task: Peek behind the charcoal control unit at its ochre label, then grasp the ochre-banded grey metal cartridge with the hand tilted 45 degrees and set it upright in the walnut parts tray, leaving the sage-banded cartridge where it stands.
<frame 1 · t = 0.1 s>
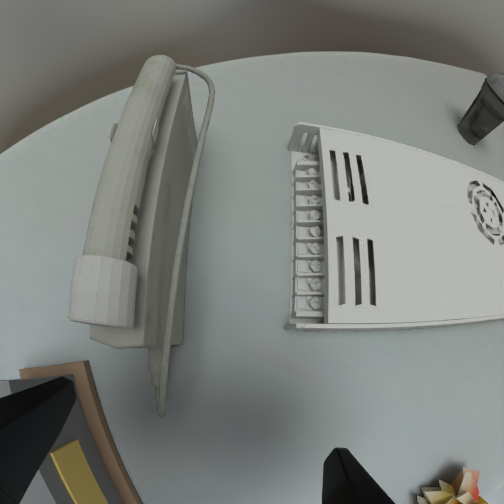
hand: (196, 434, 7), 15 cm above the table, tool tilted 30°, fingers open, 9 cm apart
control unit: (83, 460, 17), on the table
beverage cup: (466, 135, 34), on the table
geiger counter: (176, 261, 24), on the table
power supply unit: (424, 245, 28), on the table
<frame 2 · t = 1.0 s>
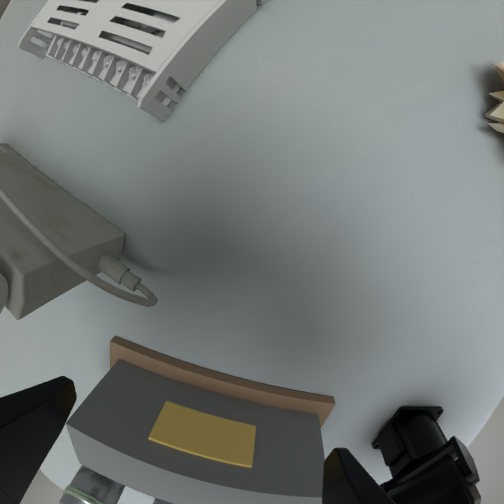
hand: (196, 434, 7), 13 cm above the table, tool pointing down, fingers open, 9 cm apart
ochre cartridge: (175, 495, 28), on the table
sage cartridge: (121, 443, 26), on the table
control unit: (212, 407, 23), on the table
geiger counter: (65, 201, 20), on the table
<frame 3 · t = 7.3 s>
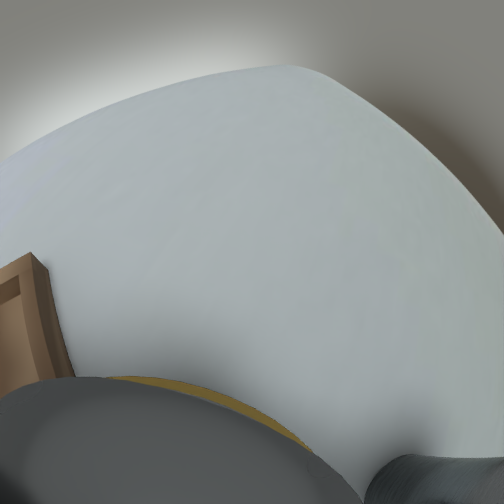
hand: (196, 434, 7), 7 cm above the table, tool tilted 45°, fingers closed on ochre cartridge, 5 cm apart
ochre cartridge: (199, 442, 12), on the table, touching gripper
parts tray: (1, 392, 11), on the table
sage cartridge: (399, 490, 11), on the table
when the fingers open (9 cm above the table, at t = 10.8 s): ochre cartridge drops 1 cm, resting on parts tray.
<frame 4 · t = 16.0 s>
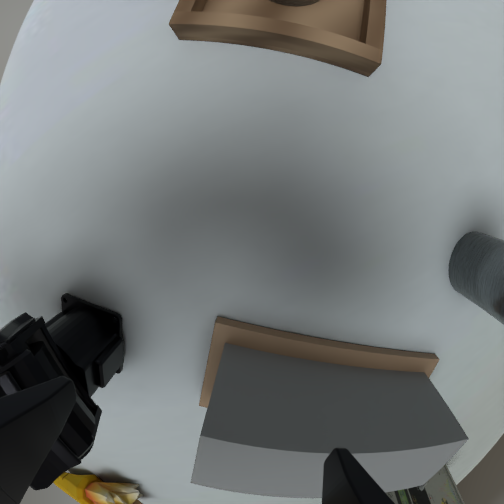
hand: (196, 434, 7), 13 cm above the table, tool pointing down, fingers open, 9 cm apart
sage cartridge: (471, 263, 18), on the table
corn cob: (96, 476, 31), on the table
control unit: (323, 384, 22), on the table
geiger counter: (393, 466, 25), on the table
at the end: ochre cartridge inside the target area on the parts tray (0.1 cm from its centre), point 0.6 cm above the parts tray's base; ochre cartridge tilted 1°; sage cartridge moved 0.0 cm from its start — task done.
